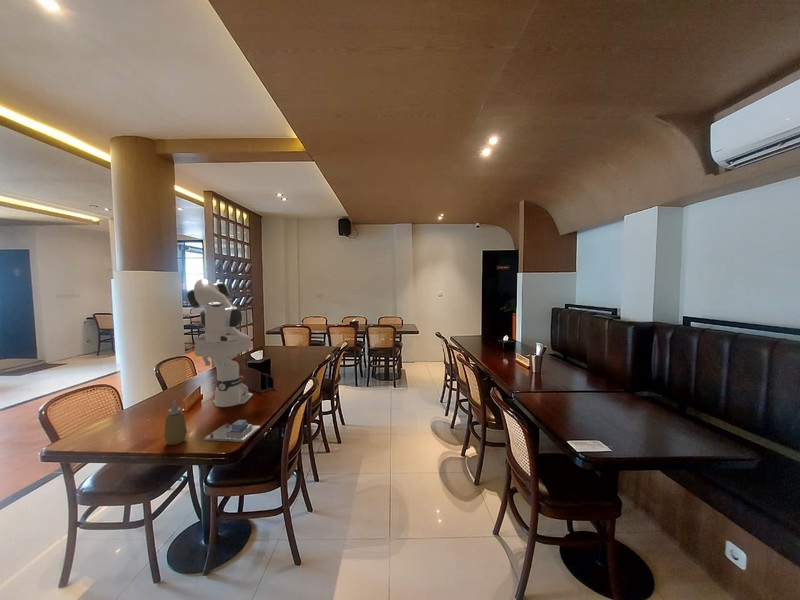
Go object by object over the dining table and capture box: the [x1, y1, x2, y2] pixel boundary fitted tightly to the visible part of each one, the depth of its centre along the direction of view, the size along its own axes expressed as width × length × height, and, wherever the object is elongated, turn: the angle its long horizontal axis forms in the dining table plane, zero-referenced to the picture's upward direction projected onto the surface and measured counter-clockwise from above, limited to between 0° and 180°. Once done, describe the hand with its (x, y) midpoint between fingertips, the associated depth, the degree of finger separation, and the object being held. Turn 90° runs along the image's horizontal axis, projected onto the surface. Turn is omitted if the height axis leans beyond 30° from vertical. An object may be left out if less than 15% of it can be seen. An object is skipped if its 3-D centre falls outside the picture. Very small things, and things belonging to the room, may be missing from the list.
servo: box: [230, 419, 249, 432], centre depth 148 cm, size 8×4×4 cm, turn 175°
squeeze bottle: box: [163, 400, 188, 446], centre depth 141 cm, size 8×8×18 cm
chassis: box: [203, 422, 261, 443], centre depth 149 cm, size 14×18×3 cm
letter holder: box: [243, 367, 275, 394], centre depth 215 cm, size 10×20×14 cm, turn 53°
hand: (217, 365), depth 156 cm, fingers open, 8 cm apart
